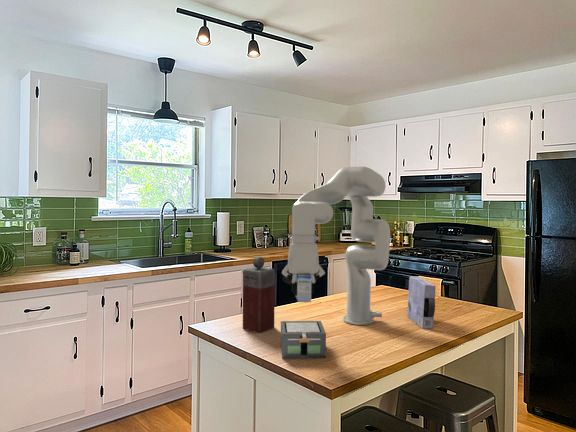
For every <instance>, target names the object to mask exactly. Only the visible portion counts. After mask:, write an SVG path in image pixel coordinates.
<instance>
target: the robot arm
mask: <svg viewBox="0 0 576 432" xmlns="http://www.w3.org/2000/svg"><path fill="white" fill-rule="evenodd" d="M385 190H386V180H385V178H384V177H383V176H382V175H381V174H379V173H378V172H377V171H375V170H374V169H373V168H370V167H367V166H346V167H342V168H339V169H338V170H337V172H336V173H335V174H334V175H333V176H332V177H331V178H330V179H329V180H328V181H327V182H326V183H325V184H322V185H320V186H318V187H316V188H314V189H313V188H312V189H311V190H309V191H307V192H305V193H304V194H303V195H302V196H300V197H299V198H298V200H297V201H296V202H295V203H293V204H292V207H291V208H292V209H291V213H292V214H291V215H292V216H291V217H292V220H291V221H292V222H291V225H292V226H291V227H292V228H291V231H292V233H291V234H292V235H291V243H289V246H288V253H287V254H288V257H287V264H286V265H285V266H284V268H283V269H282V271H281V274H282V275H283V276H284V277H285V278H287V279H288V281H290V282H291V293H293V295H294V296H295V295H297V283H296V277H297V274H310V276H311V296H313V293H315V283H316V282H317V281H318V280H319V279H320V278H321V277H323V276H324V275H326V272H325V270H324V269H323V268H322V266H321V265H320V264H319V263H320V261H319V250H318V248H319V247H318V244H317V243H316V242H317V241H320V236H318V235H316V225H317V224H320V225H323V224H327V223H329V222H330V221H331V220H332V219H333V216H334V209H333V207H332V205H335V204H339V203H340V202H342V201H343V200H345V198H346V197H347V196H348V199H349V201H350V203H351V209H352V213H351V226H350V227H351V228H350V236H351V238H352V239H353V240H354V241H356V242H363V243H375V245H366V244H353V245H350V246H348V247H347V249H346V250H345V253H344V257H345V258H344V259H345V263H346V264H345V265H346V270H347V271H346V274H347V287H346V289H347V291H346V293H347V294H346V298H347V299H346V315H343V319H342V320H343V322H345V323H347V324H350V325H354V326H355V325H356V326H366V325H367V326H368V325H371V324H374V322H375V318H382V317H383V313H382V312H378V311H373V310H371V295H372V294H371V292H372V291H371V287H372V285H371V284H372V279H371V276H370V273H369V271H368V270H372V271H383V270H385V269H386V268H387V266H388V264H389V258H390V257H389V256H390V243H391V229H390V228H391V227H390V225H389V223H388V221H386V220H385V219H379V218H374V206H373V204H372V202H371V200H370V199H369V197H374V198H375V197H376V198H377V197H380V196H382V195H383V194H384V192H386V191H385Z"/></svg>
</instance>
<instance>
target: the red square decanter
mask: <svg viewBox="0 0 576 432" xmlns="http://www.w3.org/2000/svg"><path fill="white" fill-rule="evenodd" d="M252 263H253V267H249V268H245V269H244V268H243V270H242V330H245V331H249V332H254V333H258V334H262V333H264V332H267V331H270V330H273V329H275V300H276V299H275V290H276V289H275V283H276V282H275V281H276V280H275V279H276V278H275V277H276V275H275V269H274V268H271V267H264V266H265V259H264V258H263V257H262V256H256V257H254V259H253V262H252Z"/></svg>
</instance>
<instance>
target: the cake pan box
mask: <svg viewBox="0 0 576 432" xmlns="http://www.w3.org/2000/svg"><path fill="white" fill-rule="evenodd" d="M408 279H409V280H408V294H407V296H408V297H407V314H406V316H407V317H408V318H409V319H410V320H411V321H412V322H413V323H415V324H416V325H418V326H419V328H421V329H422V330H434V321H435V320H434V316H435V312H436V288H437V287H436V285H435V284H433V283H431V282H429V281H428V280H425V279H424V278H422V277H420V276H413V275H412V276H411V275H410V276H409V277H408Z"/></svg>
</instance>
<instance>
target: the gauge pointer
mask: <svg viewBox="0 0 576 432" xmlns="http://www.w3.org/2000/svg"><path fill="white" fill-rule="evenodd" d="M299 341H300V342H309V338H306V339H302V338H300V340H299Z"/></svg>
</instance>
